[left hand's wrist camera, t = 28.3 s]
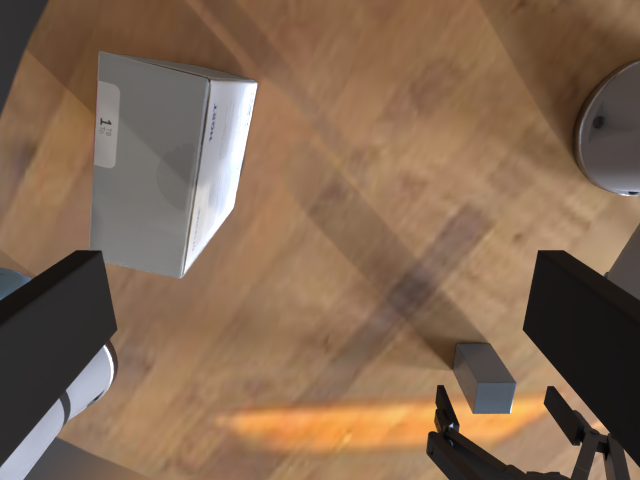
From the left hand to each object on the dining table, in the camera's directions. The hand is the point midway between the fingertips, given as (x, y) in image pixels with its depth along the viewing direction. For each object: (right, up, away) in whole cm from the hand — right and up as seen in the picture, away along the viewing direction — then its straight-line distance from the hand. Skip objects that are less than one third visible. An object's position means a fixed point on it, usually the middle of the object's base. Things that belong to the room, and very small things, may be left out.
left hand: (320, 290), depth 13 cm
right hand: (+22, -18, +39) cm, 48 cm away
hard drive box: (-12, +13, +35) cm, 40 cm away
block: (+22, -15, +46) cm, 53 cm away
